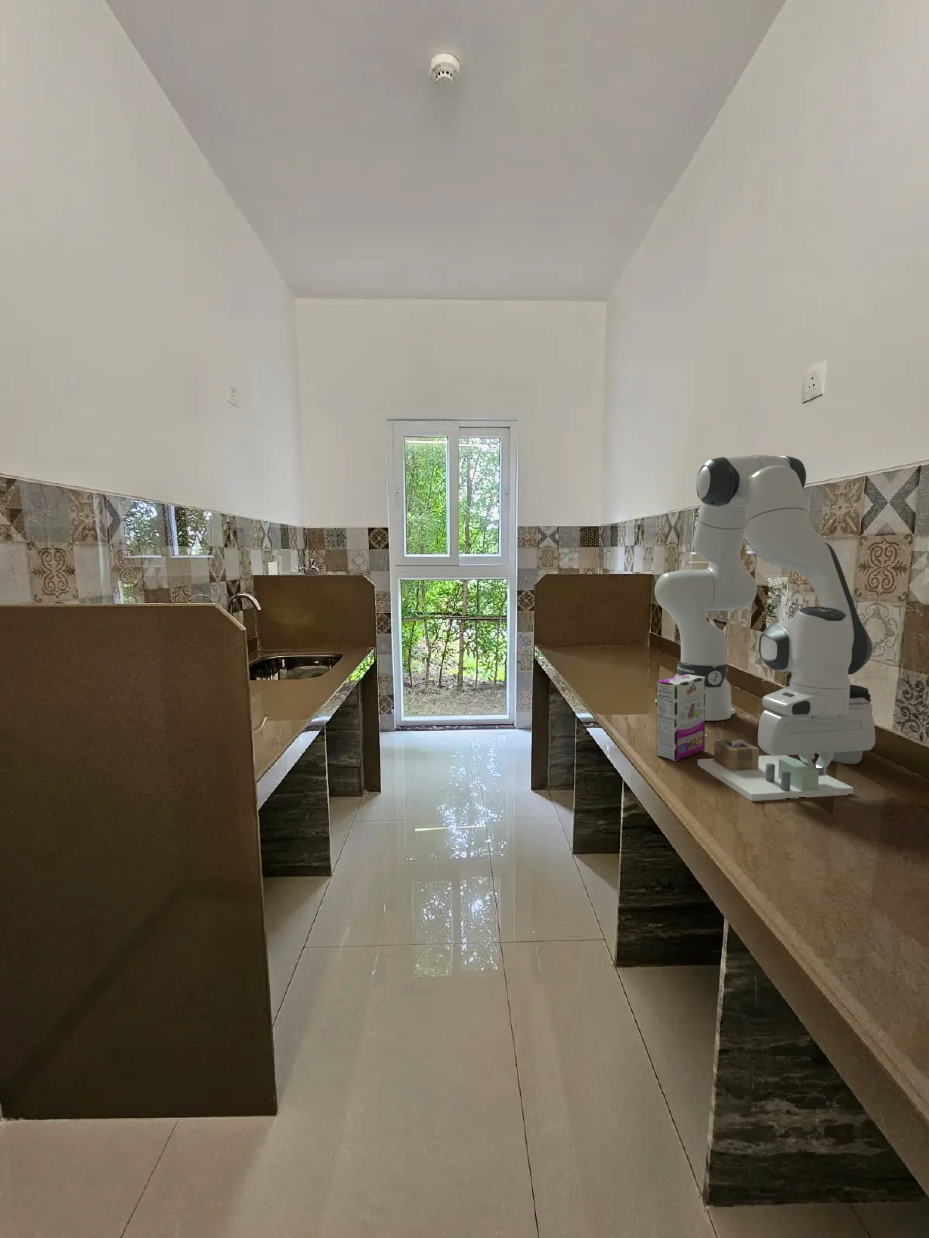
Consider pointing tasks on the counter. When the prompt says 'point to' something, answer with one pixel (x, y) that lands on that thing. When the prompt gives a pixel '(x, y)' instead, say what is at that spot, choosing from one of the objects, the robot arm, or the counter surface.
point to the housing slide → (800, 774)
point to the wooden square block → (736, 755)
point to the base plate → (770, 780)
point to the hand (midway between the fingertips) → (814, 775)
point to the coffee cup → (852, 756)
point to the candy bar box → (680, 716)
